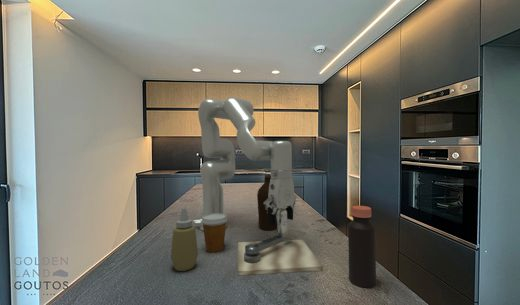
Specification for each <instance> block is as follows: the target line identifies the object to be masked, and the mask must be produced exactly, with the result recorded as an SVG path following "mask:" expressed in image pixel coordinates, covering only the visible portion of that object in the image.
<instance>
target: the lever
mask: <svg viewBox="0 0 520 305" xmlns="http://www.w3.org/2000/svg"><path fill="white" fill-rule="evenodd" d="M276 230H277V233H276V234H277V235H275V236H273V237H270V238H267V239H264V240H262V242H259V243H257V244H248V245H246V246H245V254H246V255H248V256H255V255H258V254H259V251H262V250H264V249H266V248H269V247H271V246H273V245H276V244H278V243H280V242H283V241H285V240H286V237H288V219H287V211H286V208H285V207H284V208H279V210H278V211H277V229H276Z"/></svg>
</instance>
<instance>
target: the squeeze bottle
mask: <svg viewBox="0 0 520 305" xmlns="http://www.w3.org/2000/svg"><path fill="white" fill-rule="evenodd" d="M175 225H176V227H175V228H174V229H173V230H172V240H171V249H170V250H171V252H170V259H171V262H172V265H173V268H174V270H176V271H179V272H184V271H189V270H191V269H193V268H194V267H195V265H196V263H197V259H198V255H199V252H198V243H197V232H196V226H193V220H192V219H191V218H189V216H188V211H187V208H182V209H181V212H180V217H179V219H178V220H176V224H175Z"/></svg>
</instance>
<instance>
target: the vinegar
mask: <svg viewBox="0 0 520 305" xmlns="http://www.w3.org/2000/svg"><path fill="white" fill-rule="evenodd" d="M351 217H352V220H351V221H350V222H349V224H348V227H347V228H348V230H347V231H348V232H347V233H348V237H347V238H348V243H347V244H348V279H349V282H351V283H352V284H353V285H355V286H356V287H361V288H365V289H367V288H373V287H375V285H376V284H377V258H376V257H377V251H376V248H377V246H376V243H377V242H376V235H377V234H376V226H375V225H374V224H373V222H371V219H372V208H371V207H369V206H366V205H353V206H351Z"/></svg>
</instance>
